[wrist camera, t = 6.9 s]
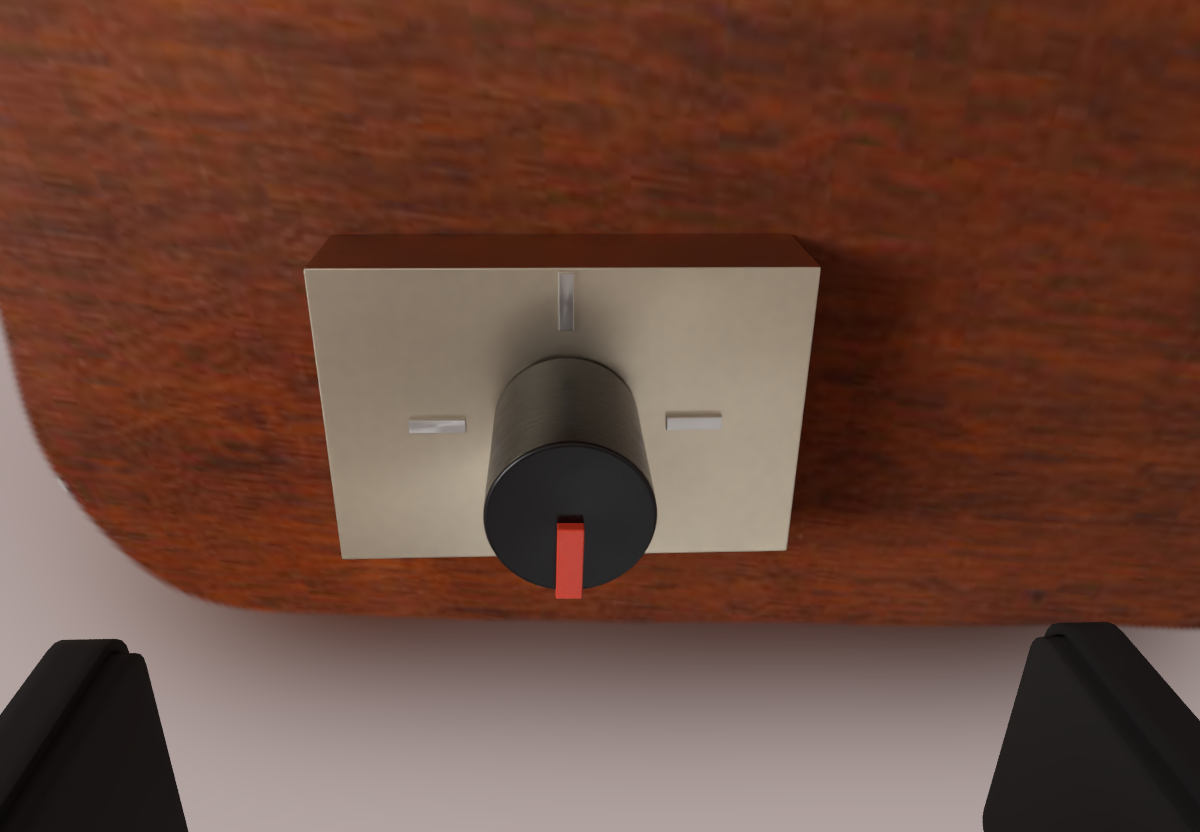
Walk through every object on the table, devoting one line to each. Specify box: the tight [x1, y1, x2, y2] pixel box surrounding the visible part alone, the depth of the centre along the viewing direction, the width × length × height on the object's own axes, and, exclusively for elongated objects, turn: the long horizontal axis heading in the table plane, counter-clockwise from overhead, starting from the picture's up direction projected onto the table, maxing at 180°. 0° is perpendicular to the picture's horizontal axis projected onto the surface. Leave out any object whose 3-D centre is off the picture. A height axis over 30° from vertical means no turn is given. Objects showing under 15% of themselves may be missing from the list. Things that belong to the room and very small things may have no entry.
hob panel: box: [303, 234, 821, 559], centre depth 24 cm, size 12×8×3 cm, turn 89°
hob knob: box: [483, 358, 657, 599], centre depth 21 cm, size 4×4×5 cm
